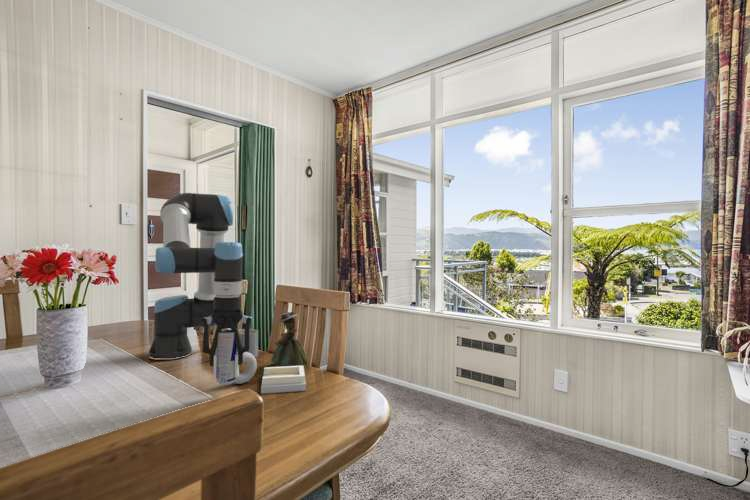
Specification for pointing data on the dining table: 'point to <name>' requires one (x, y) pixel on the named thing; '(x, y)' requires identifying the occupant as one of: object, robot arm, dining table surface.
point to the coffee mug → (253, 341)
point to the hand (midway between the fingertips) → (226, 376)
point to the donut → (247, 369)
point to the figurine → (289, 345)
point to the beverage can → (226, 357)
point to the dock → (283, 379)
